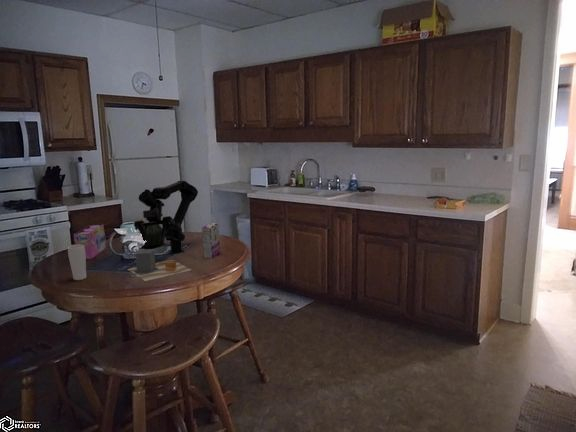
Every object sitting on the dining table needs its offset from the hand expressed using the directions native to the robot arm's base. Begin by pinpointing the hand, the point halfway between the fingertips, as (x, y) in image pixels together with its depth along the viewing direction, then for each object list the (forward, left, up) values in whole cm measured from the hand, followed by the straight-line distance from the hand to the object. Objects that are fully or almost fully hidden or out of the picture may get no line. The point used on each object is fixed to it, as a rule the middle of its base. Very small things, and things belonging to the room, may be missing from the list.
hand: (153, 239), depth 202 cm
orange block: (+13, +2, -13) cm, 18 cm away
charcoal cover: (+6, -7, -12) cm, 15 cm away
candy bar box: (+5, +28, -13) cm, 32 cm away
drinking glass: (-5, -33, -13) cm, 36 cm away
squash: (-37, +13, -13) cm, 41 cm away
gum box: (-45, -17, -13) cm, 50 cm away
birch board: (+9, -2, -13) cm, 16 cm away
